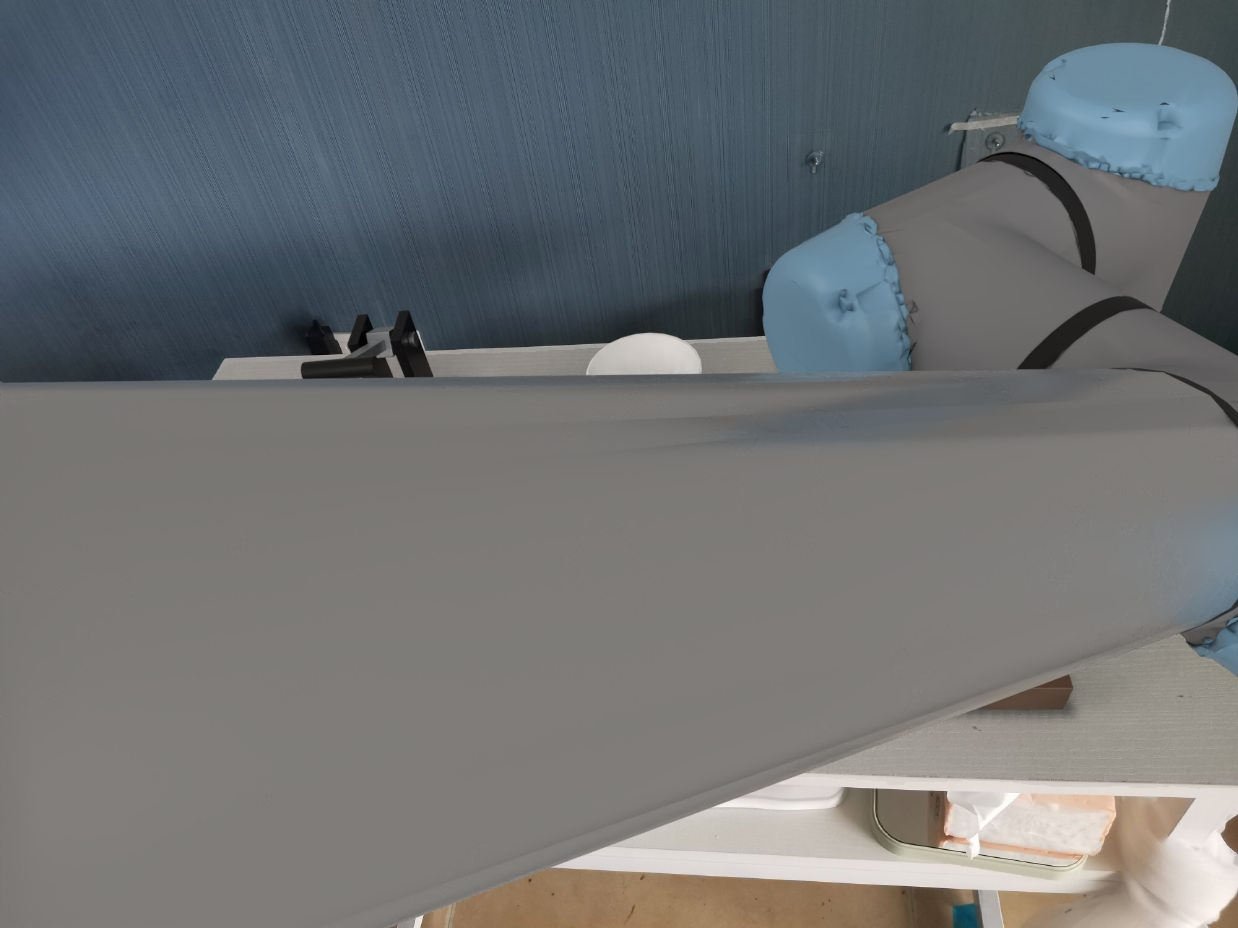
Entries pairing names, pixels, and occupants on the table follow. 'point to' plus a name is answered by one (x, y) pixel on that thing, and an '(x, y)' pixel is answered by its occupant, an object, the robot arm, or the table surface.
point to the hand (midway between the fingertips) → (972, 626)
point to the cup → (646, 356)
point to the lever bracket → (395, 346)
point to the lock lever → (354, 359)
